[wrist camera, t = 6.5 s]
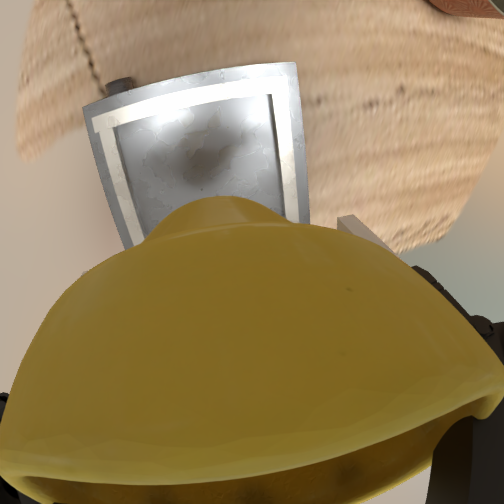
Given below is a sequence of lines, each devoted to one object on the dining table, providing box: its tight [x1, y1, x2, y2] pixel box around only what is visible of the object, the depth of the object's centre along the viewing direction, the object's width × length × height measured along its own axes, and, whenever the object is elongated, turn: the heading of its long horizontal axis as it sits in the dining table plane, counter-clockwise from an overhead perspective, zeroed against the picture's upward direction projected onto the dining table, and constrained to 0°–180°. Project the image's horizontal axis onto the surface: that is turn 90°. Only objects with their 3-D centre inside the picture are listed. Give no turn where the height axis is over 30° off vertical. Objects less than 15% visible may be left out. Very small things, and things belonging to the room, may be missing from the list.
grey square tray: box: [82, 62, 310, 250], centre depth 23 cm, size 19×18×8 cm
